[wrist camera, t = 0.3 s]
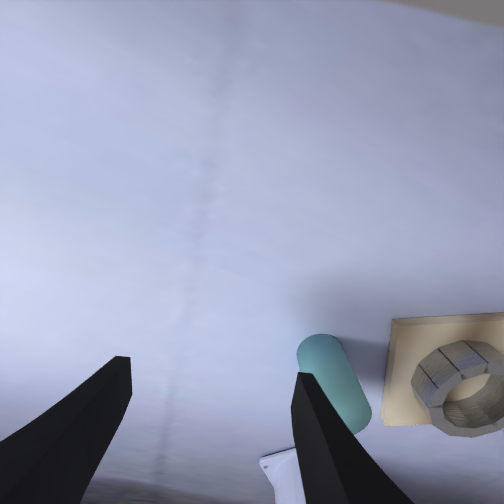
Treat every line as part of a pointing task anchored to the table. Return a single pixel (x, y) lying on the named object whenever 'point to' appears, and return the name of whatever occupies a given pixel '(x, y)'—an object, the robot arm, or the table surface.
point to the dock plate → (421, 345)
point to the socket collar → (453, 373)
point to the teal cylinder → (335, 379)
